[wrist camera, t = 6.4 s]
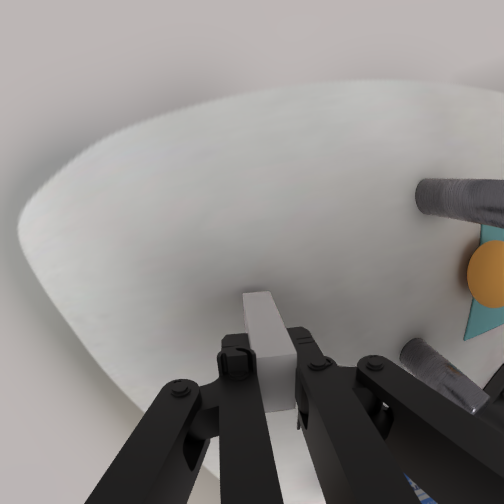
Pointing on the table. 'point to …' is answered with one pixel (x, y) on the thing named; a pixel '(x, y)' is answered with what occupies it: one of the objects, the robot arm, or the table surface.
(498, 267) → the ball
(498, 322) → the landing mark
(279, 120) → the table surface
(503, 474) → the robot arm
